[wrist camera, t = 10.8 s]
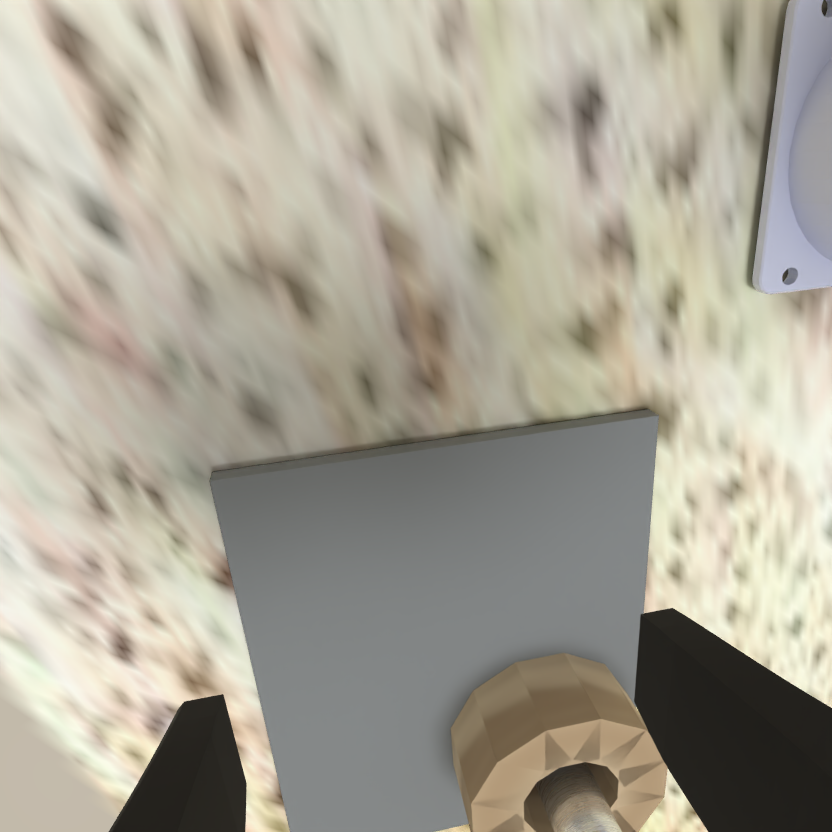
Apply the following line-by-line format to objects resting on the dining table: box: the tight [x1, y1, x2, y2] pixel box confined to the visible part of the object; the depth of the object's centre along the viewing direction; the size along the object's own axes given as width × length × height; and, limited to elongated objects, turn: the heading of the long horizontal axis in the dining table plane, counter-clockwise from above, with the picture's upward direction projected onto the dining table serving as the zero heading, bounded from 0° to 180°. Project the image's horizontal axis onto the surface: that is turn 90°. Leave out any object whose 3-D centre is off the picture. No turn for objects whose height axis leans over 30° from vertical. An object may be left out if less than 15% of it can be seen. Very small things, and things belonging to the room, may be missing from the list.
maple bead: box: [451, 653, 667, 832], centre depth 22 cm, size 7×7×3 cm
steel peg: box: [535, 762, 622, 832], centre depth 20 cm, size 2×2×8 cm
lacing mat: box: [210, 409, 659, 832], centre depth 22 cm, size 14×17×1 cm
